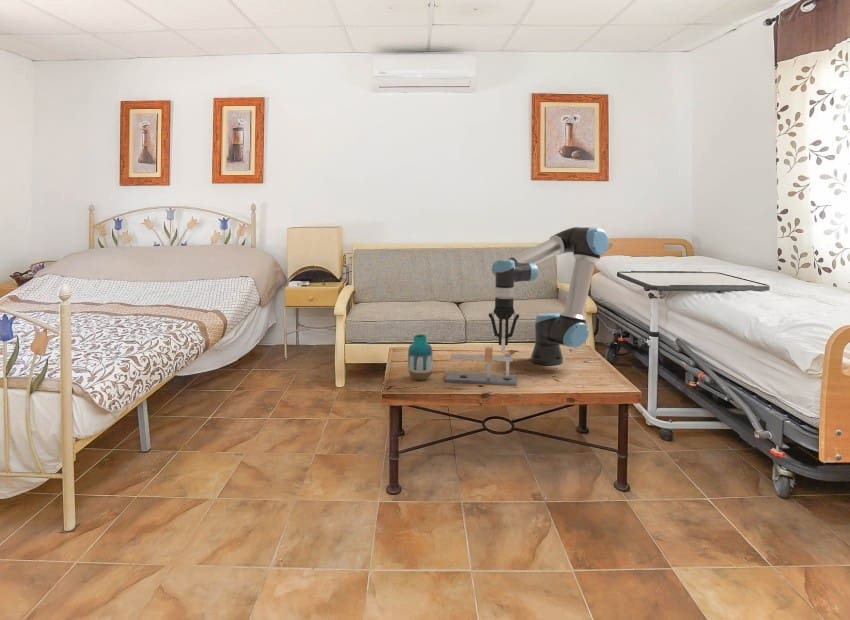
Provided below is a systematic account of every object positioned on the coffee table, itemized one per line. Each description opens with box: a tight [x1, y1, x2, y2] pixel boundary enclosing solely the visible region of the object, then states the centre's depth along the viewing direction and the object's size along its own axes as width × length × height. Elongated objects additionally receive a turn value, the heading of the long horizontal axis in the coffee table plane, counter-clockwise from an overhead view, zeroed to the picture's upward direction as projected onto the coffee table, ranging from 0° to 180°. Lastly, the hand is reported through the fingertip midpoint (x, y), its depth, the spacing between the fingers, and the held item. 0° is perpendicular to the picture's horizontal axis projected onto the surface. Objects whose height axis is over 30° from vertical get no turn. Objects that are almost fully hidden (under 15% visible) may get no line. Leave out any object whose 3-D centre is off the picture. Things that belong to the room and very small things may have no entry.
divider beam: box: [450, 352, 514, 379], centre depth 224 cm, size 26×3×11 cm, turn 80°
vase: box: [407, 333, 434, 381], centre depth 226 cm, size 11×11×19 cm
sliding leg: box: [484, 346, 494, 377], centre depth 224 cm, size 3×4×12 cm
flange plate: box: [444, 371, 518, 386], centre depth 225 cm, size 30×10×1 cm, turn 80°
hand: (503, 352), depth 222 cm, fingers closed
